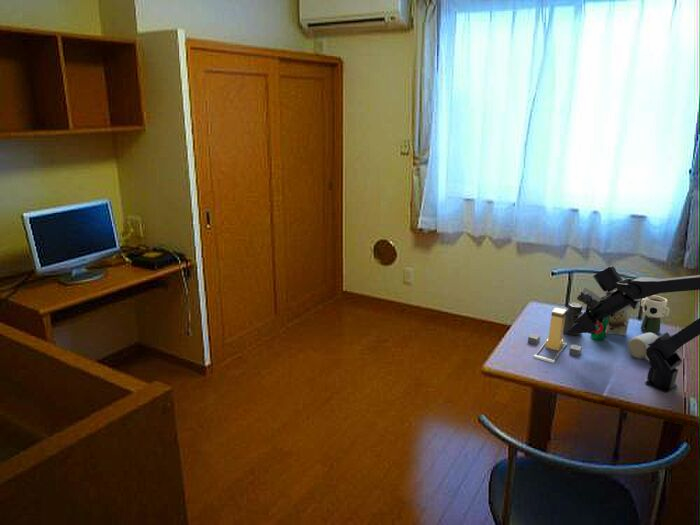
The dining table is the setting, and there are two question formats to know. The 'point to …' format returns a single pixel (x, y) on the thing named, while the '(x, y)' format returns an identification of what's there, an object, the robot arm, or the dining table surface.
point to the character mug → (653, 313)
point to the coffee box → (618, 319)
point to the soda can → (601, 330)
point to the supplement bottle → (572, 317)
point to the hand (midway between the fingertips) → (571, 327)
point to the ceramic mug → (641, 345)
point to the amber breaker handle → (556, 329)
